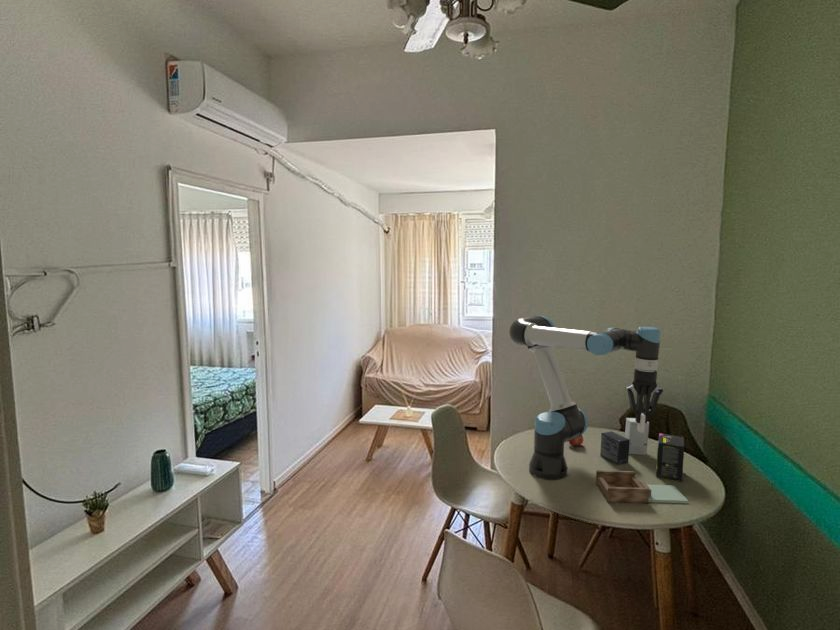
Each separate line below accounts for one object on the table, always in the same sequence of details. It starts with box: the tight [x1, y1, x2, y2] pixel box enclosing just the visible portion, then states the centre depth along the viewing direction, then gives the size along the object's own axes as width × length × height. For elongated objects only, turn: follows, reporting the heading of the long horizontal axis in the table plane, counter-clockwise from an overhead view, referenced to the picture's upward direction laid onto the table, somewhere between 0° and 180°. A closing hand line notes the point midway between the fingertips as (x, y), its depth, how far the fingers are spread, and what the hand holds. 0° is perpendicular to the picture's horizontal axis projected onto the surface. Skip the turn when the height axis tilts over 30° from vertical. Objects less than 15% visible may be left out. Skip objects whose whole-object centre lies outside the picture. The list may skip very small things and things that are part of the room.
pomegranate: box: [568, 434, 584, 447], centre depth 220 cm, size 7×7×10 cm
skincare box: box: [624, 417, 650, 456], centre depth 212 cm, size 8×6×15 cm
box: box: [595, 469, 650, 505], centre depth 176 cm, size 14×14×6 cm
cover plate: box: [638, 480, 689, 504], centre depth 175 cm, size 14×11×4 cm
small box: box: [599, 431, 630, 466], centre depth 205 cm, size 11×6×10 cm, turn 22°
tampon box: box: [655, 432, 685, 482], centre depth 191 cm, size 11×9×15 cm
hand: (640, 431), depth 177 cm, fingers closed
